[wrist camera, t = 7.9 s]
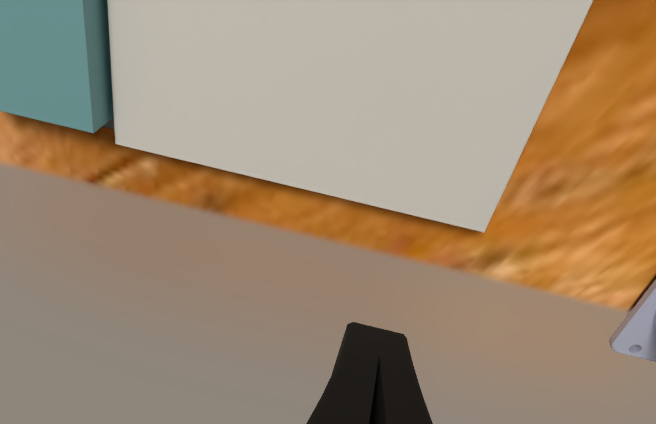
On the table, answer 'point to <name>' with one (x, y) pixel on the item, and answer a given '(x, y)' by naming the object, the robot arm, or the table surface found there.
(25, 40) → the tile
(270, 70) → the plinth
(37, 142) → the table surface
